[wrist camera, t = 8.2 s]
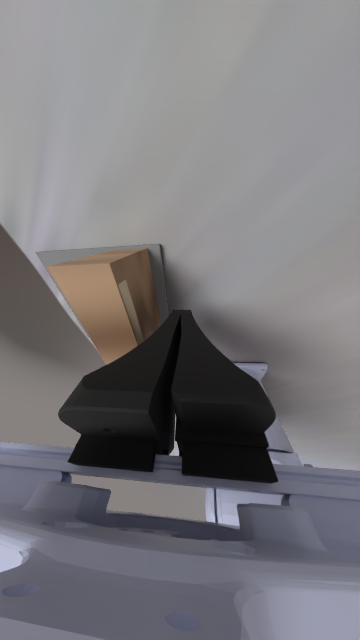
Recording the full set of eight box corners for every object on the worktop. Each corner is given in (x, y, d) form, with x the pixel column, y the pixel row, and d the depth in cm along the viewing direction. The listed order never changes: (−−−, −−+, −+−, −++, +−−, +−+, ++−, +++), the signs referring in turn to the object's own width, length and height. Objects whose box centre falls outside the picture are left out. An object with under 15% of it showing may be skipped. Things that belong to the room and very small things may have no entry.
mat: (171, 335, 16) (171, 337, 16) (90, 335, 17) (88, 337, 17) (159, 243, 11) (159, 244, 10) (40, 251, 12) (35, 252, 11)
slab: (162, 332, 16) (150, 379, 11) (138, 332, 16) (114, 378, 11) (147, 247, 10) (110, 262, 6) (111, 250, 11) (45, 266, 6)
